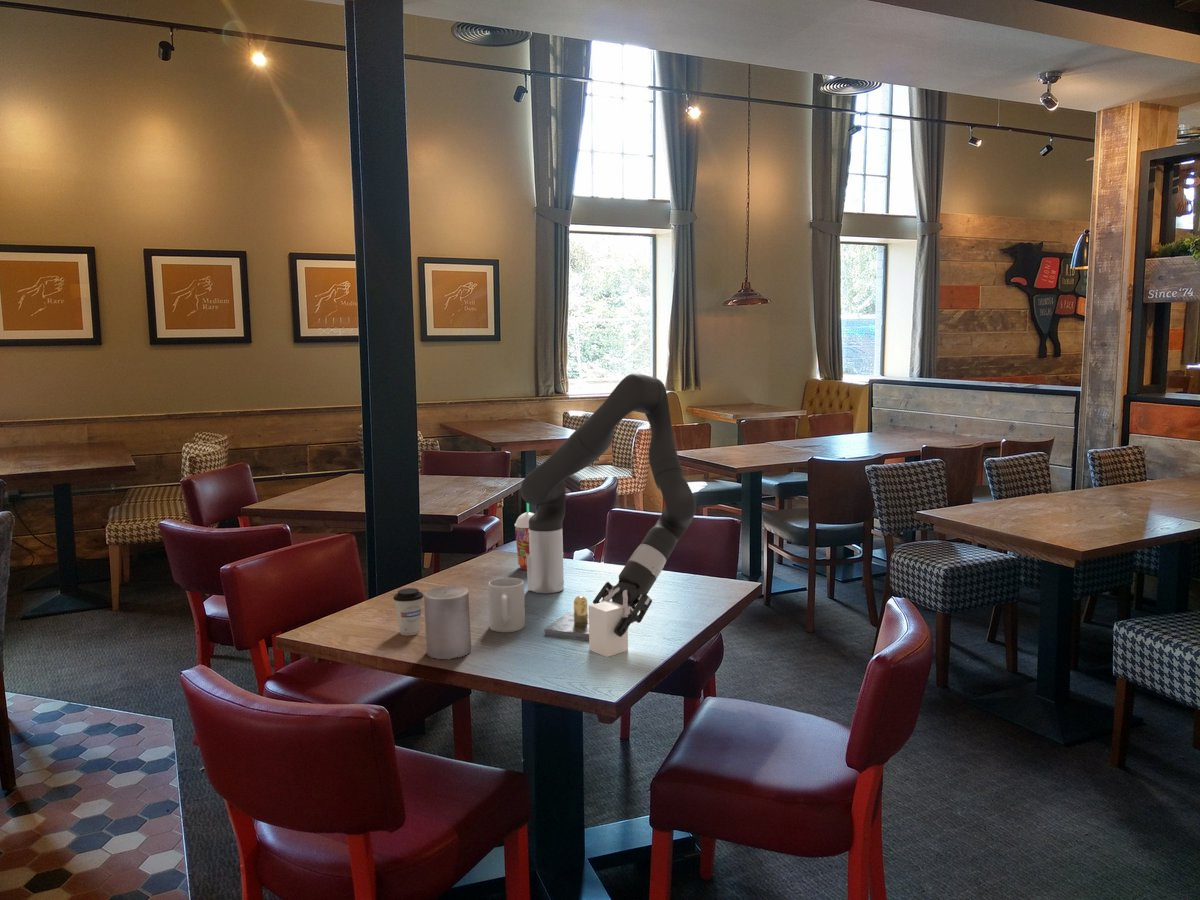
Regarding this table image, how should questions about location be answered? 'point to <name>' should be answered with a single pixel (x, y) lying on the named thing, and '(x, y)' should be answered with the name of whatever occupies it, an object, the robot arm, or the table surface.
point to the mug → (506, 604)
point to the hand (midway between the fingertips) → (604, 629)
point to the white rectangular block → (606, 629)
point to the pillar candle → (447, 622)
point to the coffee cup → (409, 610)
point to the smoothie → (523, 538)
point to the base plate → (572, 622)
